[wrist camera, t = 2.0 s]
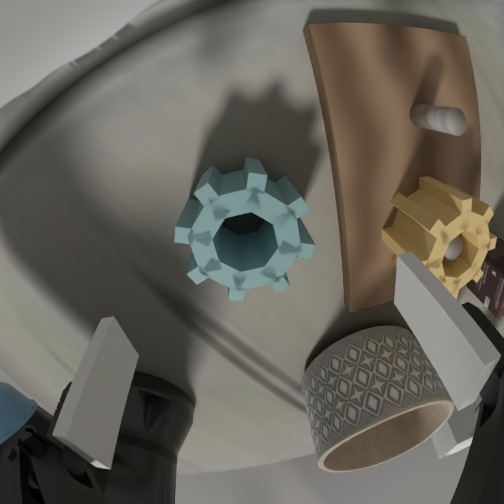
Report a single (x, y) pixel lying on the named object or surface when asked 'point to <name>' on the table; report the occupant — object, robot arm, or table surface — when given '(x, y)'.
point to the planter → (372, 399)
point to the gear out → (442, 231)
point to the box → (491, 281)
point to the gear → (247, 245)
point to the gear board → (391, 134)
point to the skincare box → (456, 431)
